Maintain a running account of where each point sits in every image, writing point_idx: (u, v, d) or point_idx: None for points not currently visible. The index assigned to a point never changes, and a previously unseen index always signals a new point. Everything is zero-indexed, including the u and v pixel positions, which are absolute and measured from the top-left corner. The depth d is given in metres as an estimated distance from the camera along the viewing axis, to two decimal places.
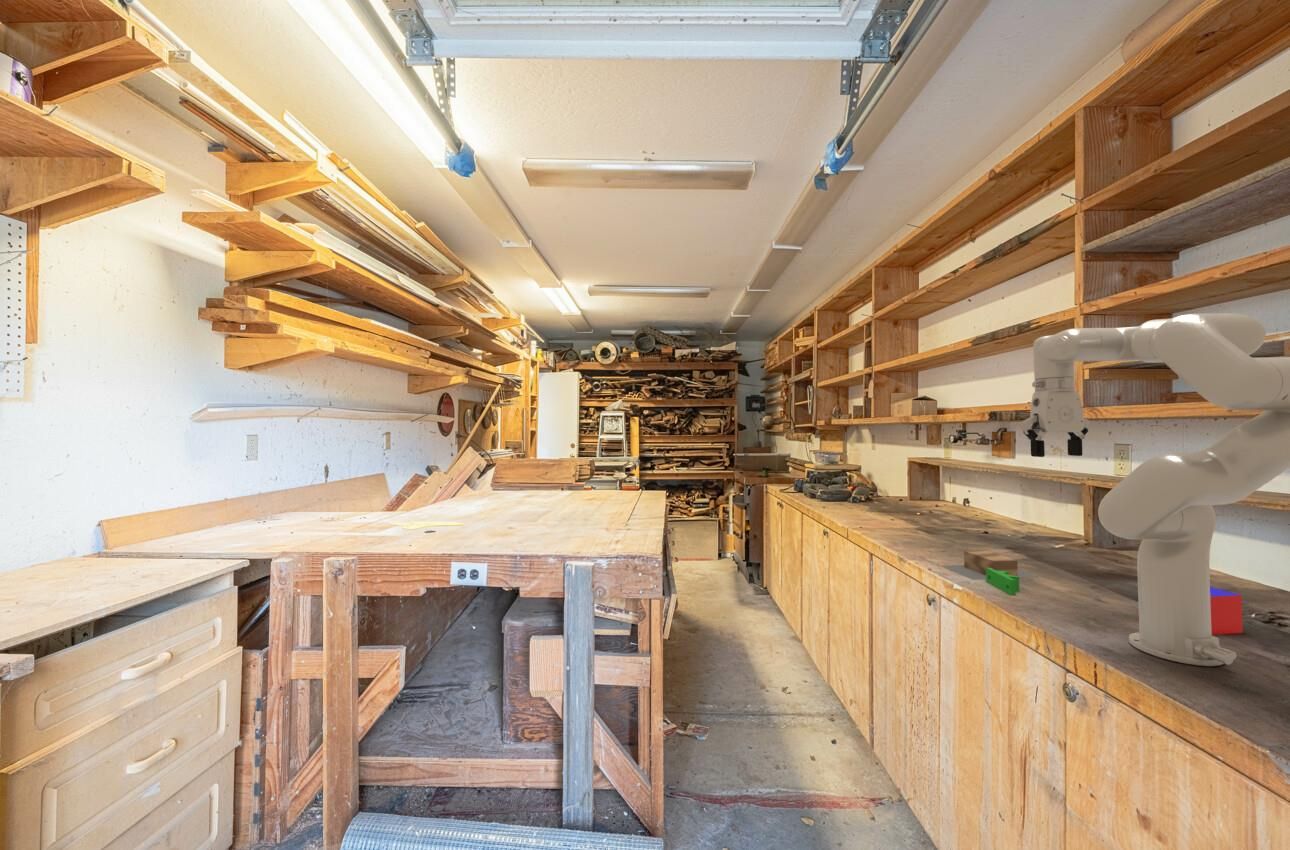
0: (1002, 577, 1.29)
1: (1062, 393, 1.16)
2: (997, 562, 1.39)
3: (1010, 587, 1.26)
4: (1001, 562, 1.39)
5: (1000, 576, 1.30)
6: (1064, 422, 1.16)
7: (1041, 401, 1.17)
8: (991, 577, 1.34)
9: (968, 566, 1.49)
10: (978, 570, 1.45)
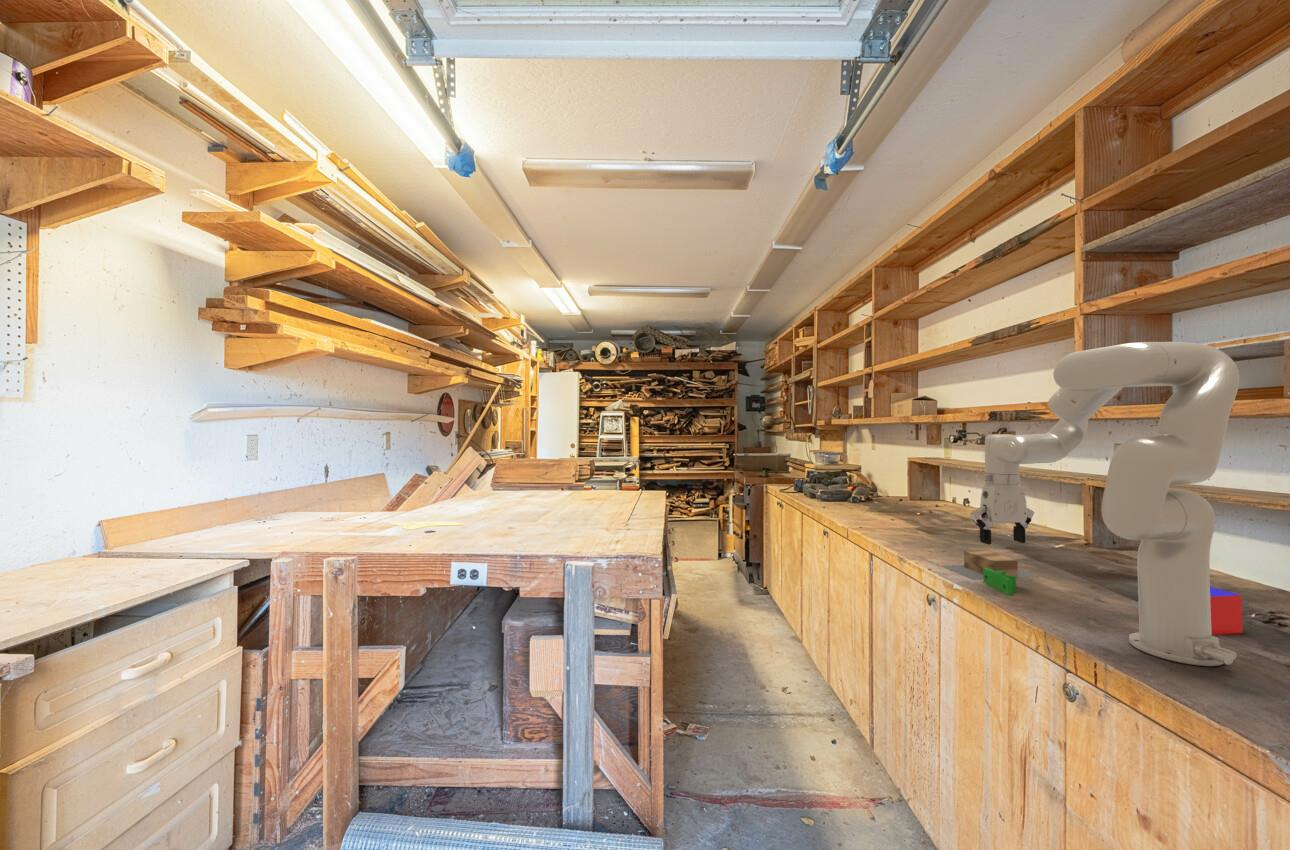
0: (999, 577, 1.29)
1: (1007, 488, 1.29)
2: (997, 562, 1.39)
3: (1007, 587, 1.26)
4: (1001, 562, 1.39)
5: (997, 576, 1.30)
6: (1008, 514, 1.29)
7: (989, 494, 1.30)
8: (988, 577, 1.34)
9: (968, 566, 1.49)
10: (978, 570, 1.45)
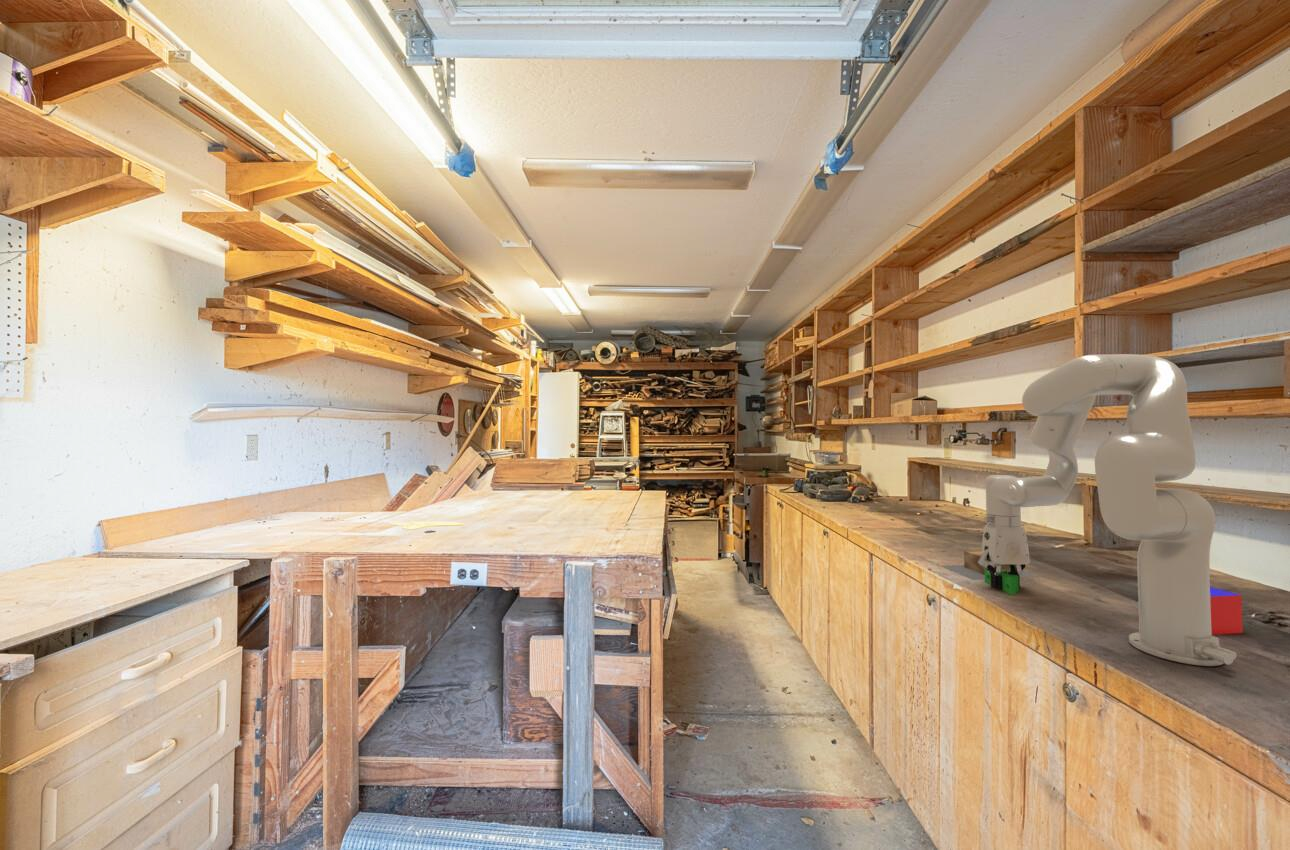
0: (1002, 576, 1.29)
1: (1009, 530, 1.28)
2: None
3: (1010, 586, 1.26)
4: None
5: (1000, 575, 1.30)
6: (1010, 557, 1.28)
7: (991, 536, 1.29)
8: None
9: (968, 566, 1.49)
10: (978, 570, 1.45)
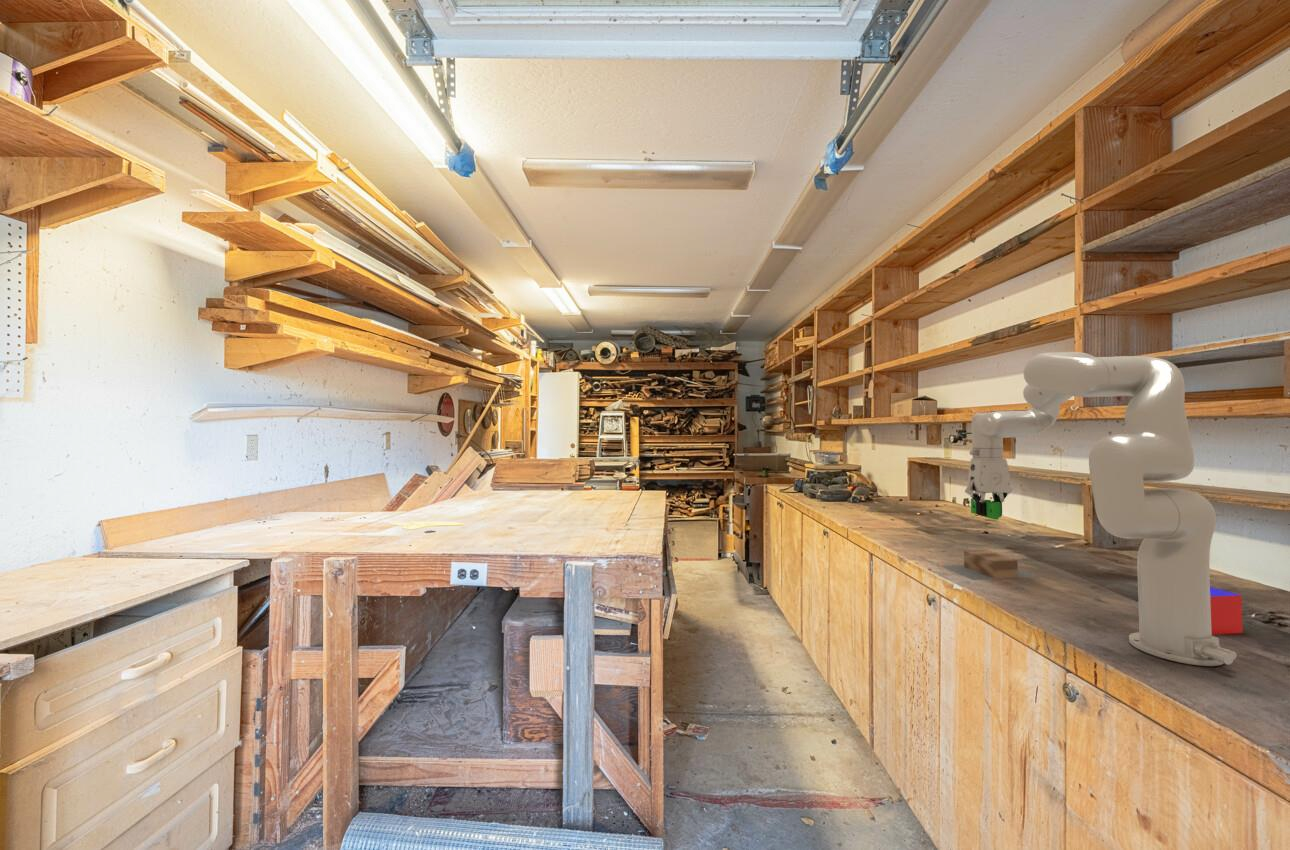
0: (986, 503, 1.43)
1: (992, 460, 1.42)
2: (997, 562, 1.39)
3: (993, 510, 1.39)
4: (1001, 562, 1.39)
5: None
6: (994, 485, 1.42)
7: (976, 467, 1.43)
8: (975, 506, 1.48)
9: (968, 566, 1.49)
10: (978, 570, 1.45)
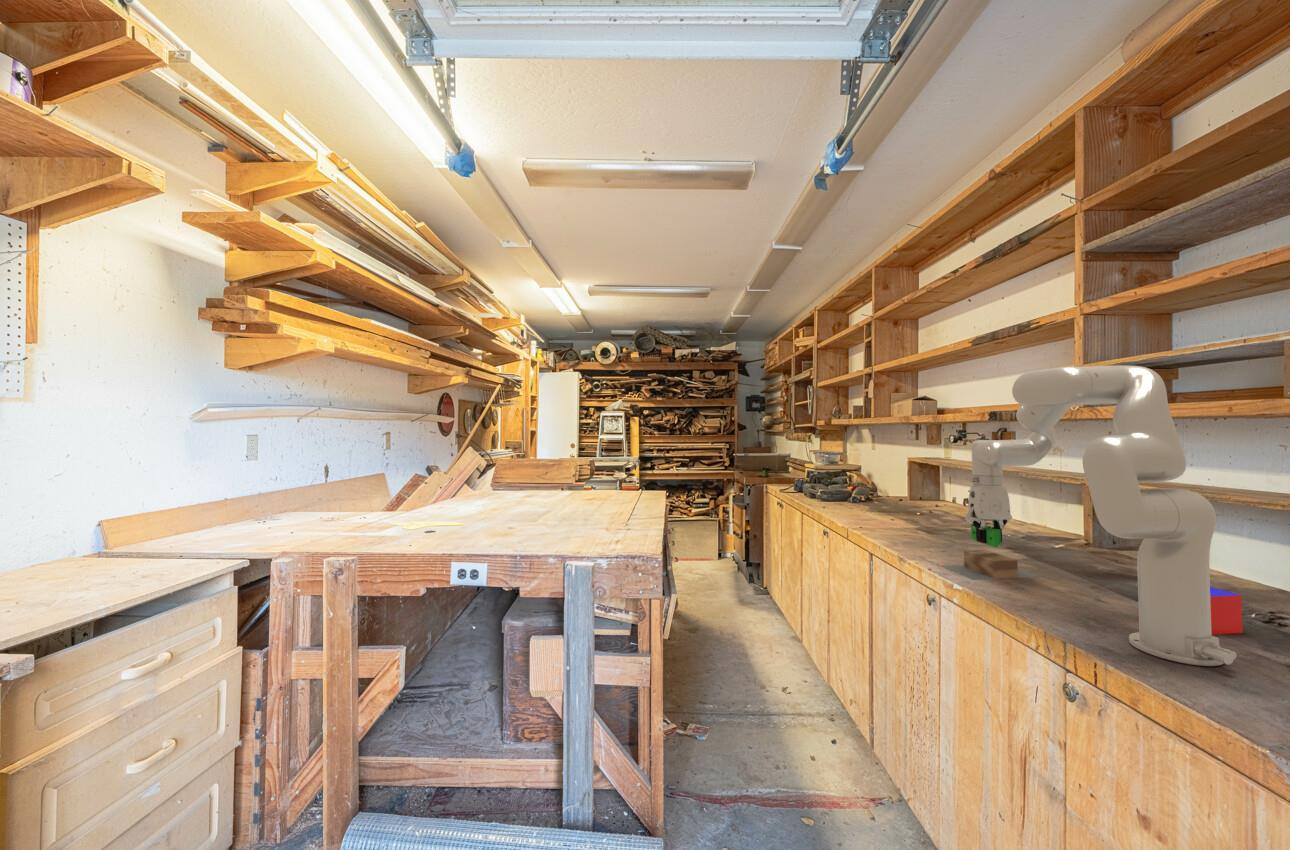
0: (986, 530, 1.44)
1: (992, 488, 1.43)
2: (997, 562, 1.39)
3: (993, 538, 1.40)
4: (1001, 562, 1.39)
5: None
6: (993, 512, 1.43)
7: (976, 494, 1.44)
8: (975, 532, 1.49)
9: (968, 566, 1.49)
10: (978, 570, 1.45)
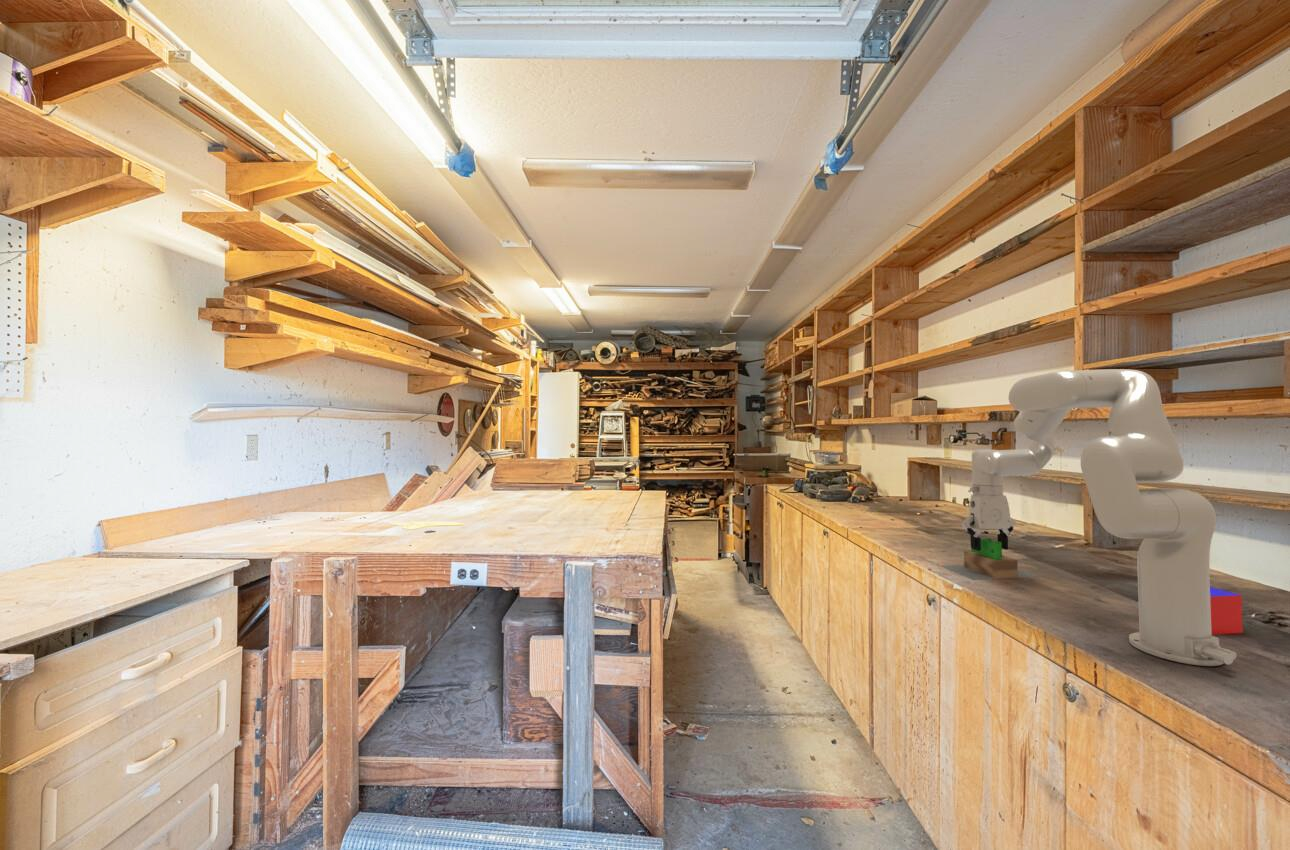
0: (987, 543, 1.44)
1: (992, 498, 1.43)
2: (997, 562, 1.39)
3: (995, 551, 1.40)
4: (1001, 562, 1.39)
5: (985, 542, 1.44)
6: (994, 522, 1.43)
7: (976, 504, 1.44)
8: None
9: (968, 566, 1.49)
10: (978, 570, 1.45)
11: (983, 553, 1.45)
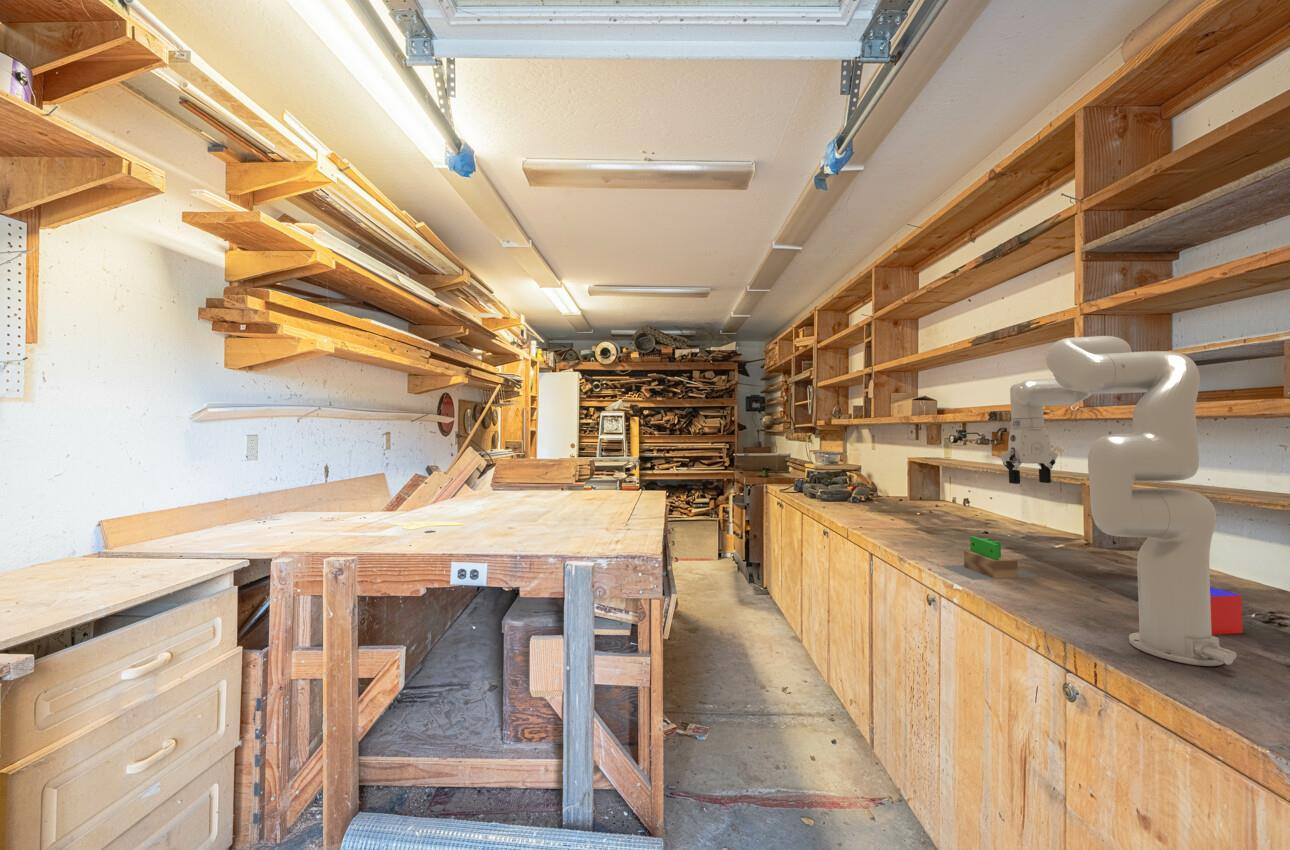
0: (986, 543, 1.44)
1: (1033, 431, 1.40)
2: (997, 562, 1.39)
3: (994, 551, 1.40)
4: (1001, 562, 1.39)
5: (984, 542, 1.44)
6: (1035, 455, 1.39)
7: (1017, 437, 1.41)
8: (975, 544, 1.49)
9: (968, 566, 1.49)
10: (978, 570, 1.45)
11: (982, 553, 1.45)
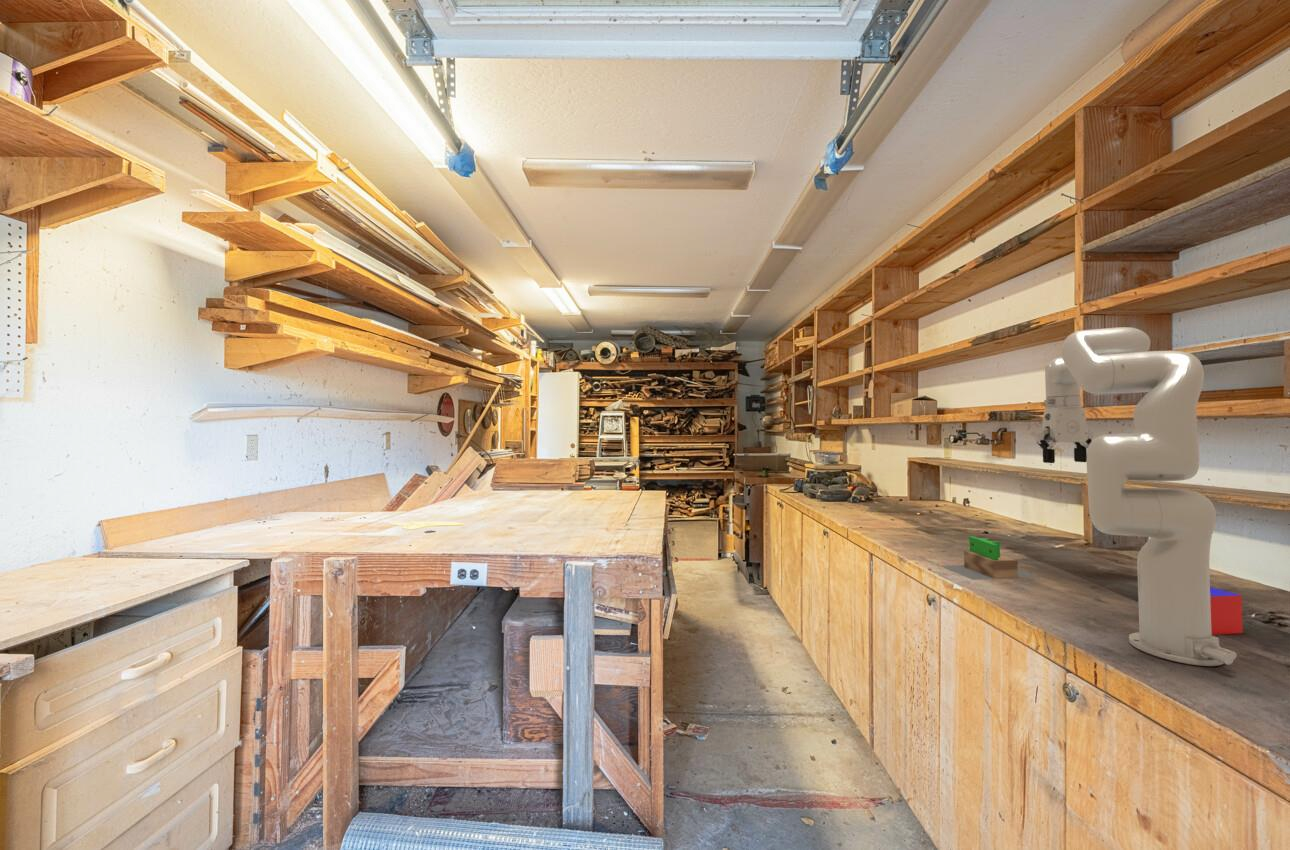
0: (985, 543, 1.44)
1: (1069, 409, 1.37)
2: (997, 562, 1.39)
3: (993, 551, 1.40)
4: (1001, 562, 1.39)
5: (983, 542, 1.44)
6: (1071, 434, 1.37)
7: (1052, 416, 1.38)
8: (974, 544, 1.49)
9: (968, 566, 1.49)
10: (978, 570, 1.45)
11: (981, 553, 1.46)
